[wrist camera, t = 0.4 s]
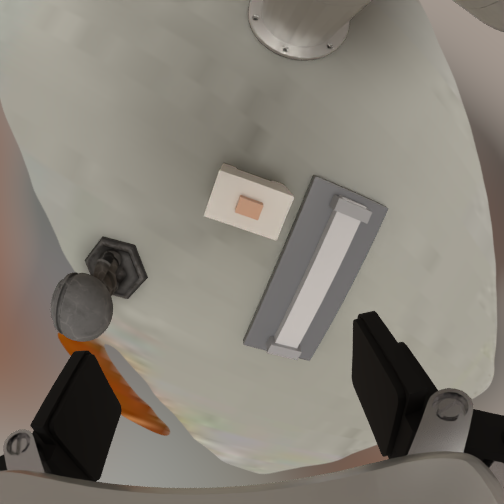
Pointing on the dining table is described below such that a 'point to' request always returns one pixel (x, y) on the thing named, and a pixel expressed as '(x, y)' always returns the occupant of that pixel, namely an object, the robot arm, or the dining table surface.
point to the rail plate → (300, 261)
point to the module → (249, 202)
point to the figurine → (96, 290)
